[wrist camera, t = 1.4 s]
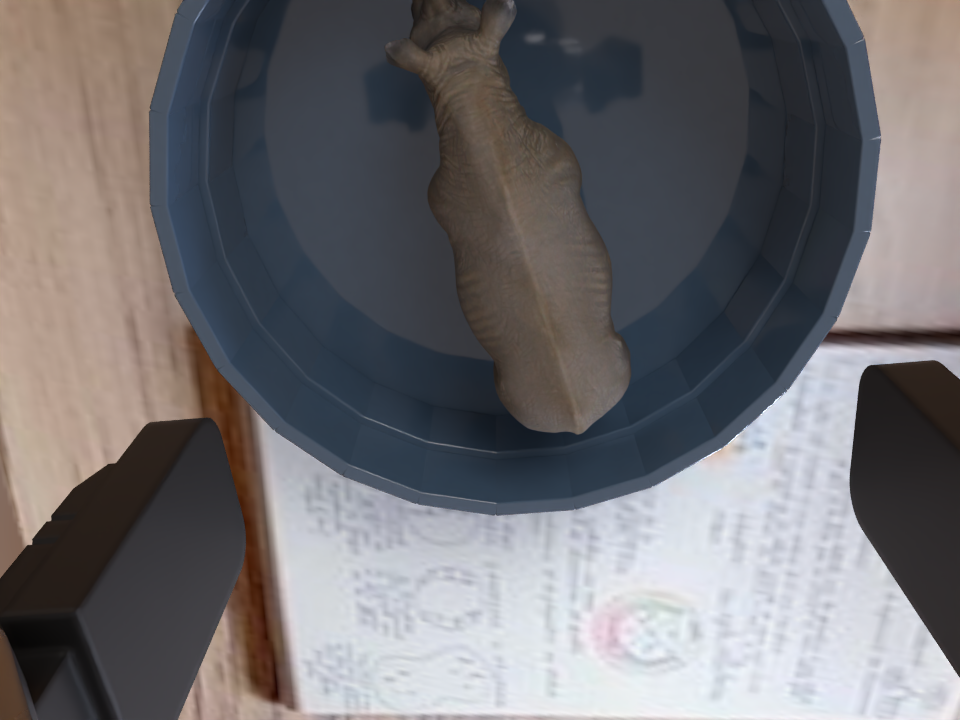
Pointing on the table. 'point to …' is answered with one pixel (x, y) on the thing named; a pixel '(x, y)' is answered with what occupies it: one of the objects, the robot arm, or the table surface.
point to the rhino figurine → (515, 225)
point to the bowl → (429, 256)
